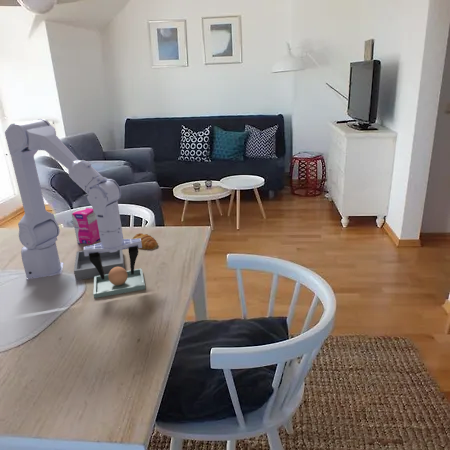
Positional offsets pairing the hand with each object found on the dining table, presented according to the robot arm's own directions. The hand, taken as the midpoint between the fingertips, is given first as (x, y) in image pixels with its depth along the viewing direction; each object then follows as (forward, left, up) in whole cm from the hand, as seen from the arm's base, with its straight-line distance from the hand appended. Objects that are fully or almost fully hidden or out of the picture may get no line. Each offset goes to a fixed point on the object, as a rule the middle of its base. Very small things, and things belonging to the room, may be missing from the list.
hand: (117, 275), depth 110 cm
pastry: (+9, +25, -4) cm, 27 cm away
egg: (0, 0, -3) cm, 3 cm away
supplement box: (-9, +36, -4) cm, 37 cm away
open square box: (-5, +14, -3) cm, 15 cm away
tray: (0, 0, -3) cm, 3 cm away
